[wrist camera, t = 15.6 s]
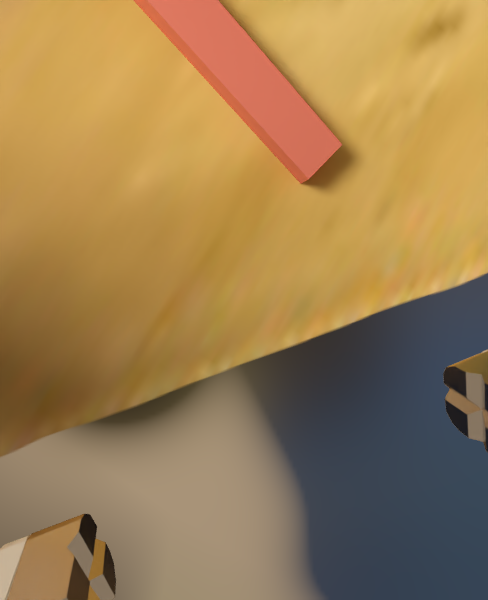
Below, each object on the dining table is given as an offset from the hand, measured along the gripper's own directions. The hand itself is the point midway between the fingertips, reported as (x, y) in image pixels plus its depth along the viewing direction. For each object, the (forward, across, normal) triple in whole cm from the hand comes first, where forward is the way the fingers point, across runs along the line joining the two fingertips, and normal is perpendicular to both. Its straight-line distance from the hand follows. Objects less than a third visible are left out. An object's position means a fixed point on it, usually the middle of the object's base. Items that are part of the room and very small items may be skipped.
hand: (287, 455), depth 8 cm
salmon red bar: (+29, -9, -13) cm, 33 cm away
